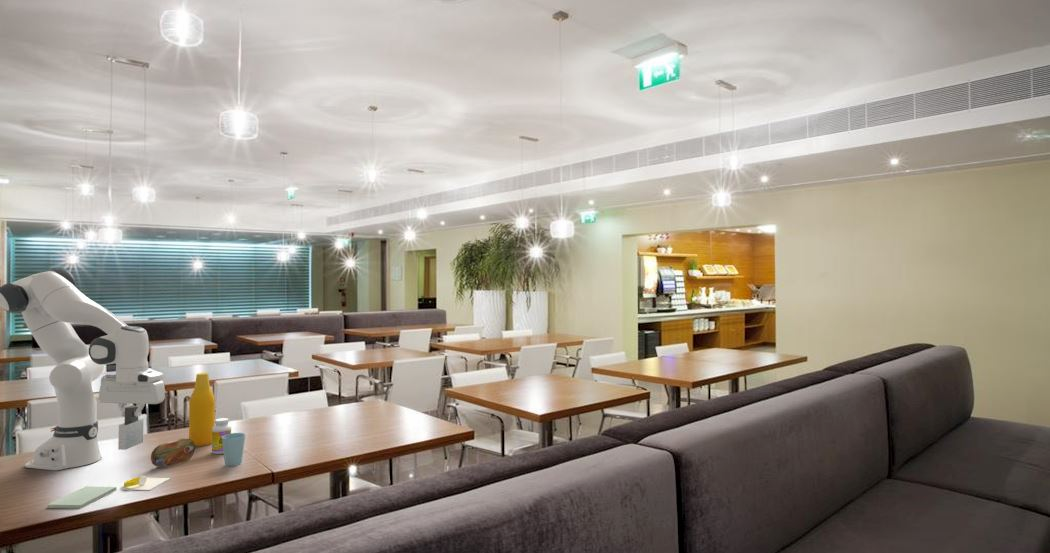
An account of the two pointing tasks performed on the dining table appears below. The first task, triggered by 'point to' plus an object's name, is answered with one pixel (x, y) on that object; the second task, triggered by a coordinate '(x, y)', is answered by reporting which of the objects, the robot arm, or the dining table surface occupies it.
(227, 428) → the supplement bottle
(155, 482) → the face down mat
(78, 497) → the plate
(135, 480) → the yellow ring
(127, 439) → the grey upright panel
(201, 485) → the dining table surface
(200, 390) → the yellow bottle
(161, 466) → the tin
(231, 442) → the cup
